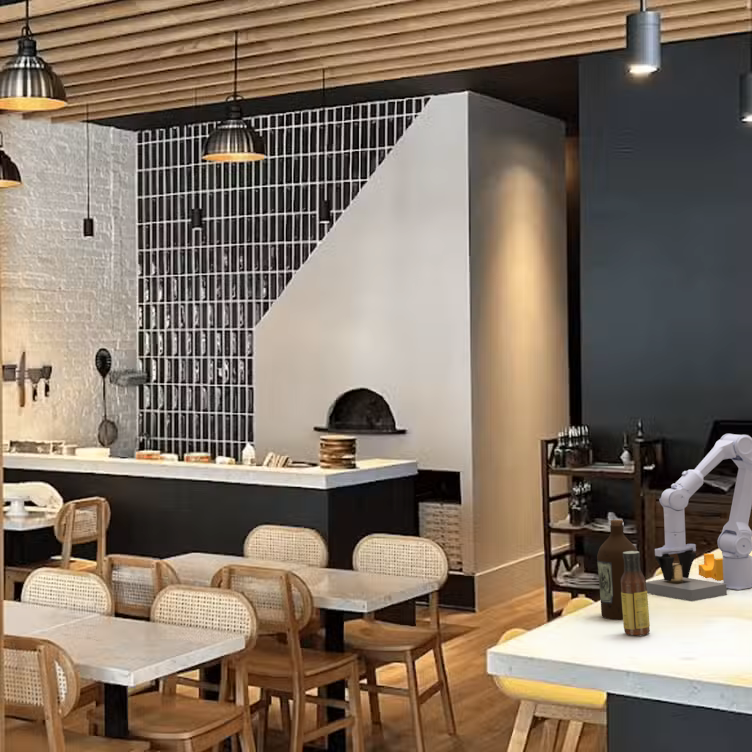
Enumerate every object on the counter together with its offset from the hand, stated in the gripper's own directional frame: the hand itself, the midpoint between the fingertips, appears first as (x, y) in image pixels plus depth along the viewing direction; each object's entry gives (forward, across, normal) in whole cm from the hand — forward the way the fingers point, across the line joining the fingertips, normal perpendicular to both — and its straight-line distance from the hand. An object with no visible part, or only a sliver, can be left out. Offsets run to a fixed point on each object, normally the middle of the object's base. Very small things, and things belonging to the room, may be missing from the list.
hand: (676, 578), depth 355 cm
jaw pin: (+4, 0, 0) cm, 4 cm away
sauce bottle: (+4, +48, +32) cm, 58 cm away
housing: (+4, 0, +3) cm, 5 cm away
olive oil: (+4, +36, +14) cm, 39 cm away
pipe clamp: (+4, -26, -10) cm, 28 cm away
